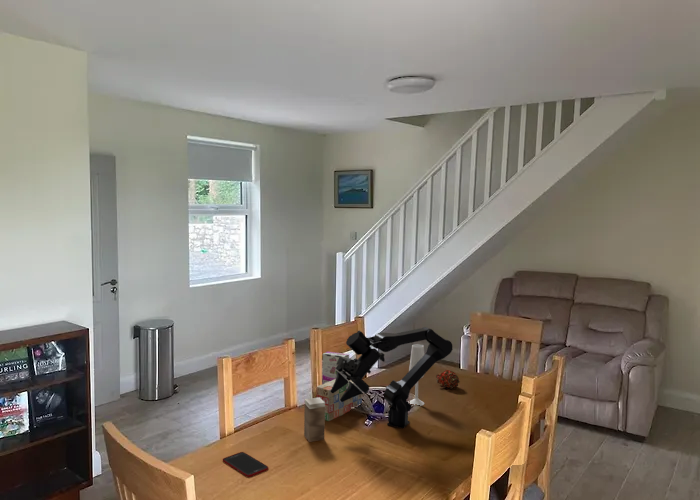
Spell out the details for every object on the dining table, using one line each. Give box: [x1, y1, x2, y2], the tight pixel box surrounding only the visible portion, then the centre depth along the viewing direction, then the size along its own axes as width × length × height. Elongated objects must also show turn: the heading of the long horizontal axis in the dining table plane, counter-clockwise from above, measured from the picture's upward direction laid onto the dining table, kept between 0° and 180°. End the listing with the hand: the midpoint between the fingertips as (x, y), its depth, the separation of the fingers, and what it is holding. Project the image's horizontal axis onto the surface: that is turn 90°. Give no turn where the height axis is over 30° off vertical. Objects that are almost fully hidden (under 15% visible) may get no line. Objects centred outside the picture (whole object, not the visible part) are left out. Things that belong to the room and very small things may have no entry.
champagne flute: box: [408, 343, 426, 407], centre depth 219 cm, size 7×7×24 cm
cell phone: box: [222, 451, 269, 478], centre depth 164 cm, size 8×15×1 cm, turn 45°
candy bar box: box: [321, 351, 350, 385], centre depth 232 cm, size 11×5×16 cm, turn 62°
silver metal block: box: [303, 397, 326, 443], centre depth 184 cm, size 6×6×13 cm
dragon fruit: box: [435, 369, 461, 390], centre depth 240 cm, size 8×8×12 cm
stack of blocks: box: [315, 379, 363, 422], centre depth 209 cm, size 21×6×12 cm, turn 143°
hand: (336, 396), depth 187 cm, fingers open, 9 cm apart
